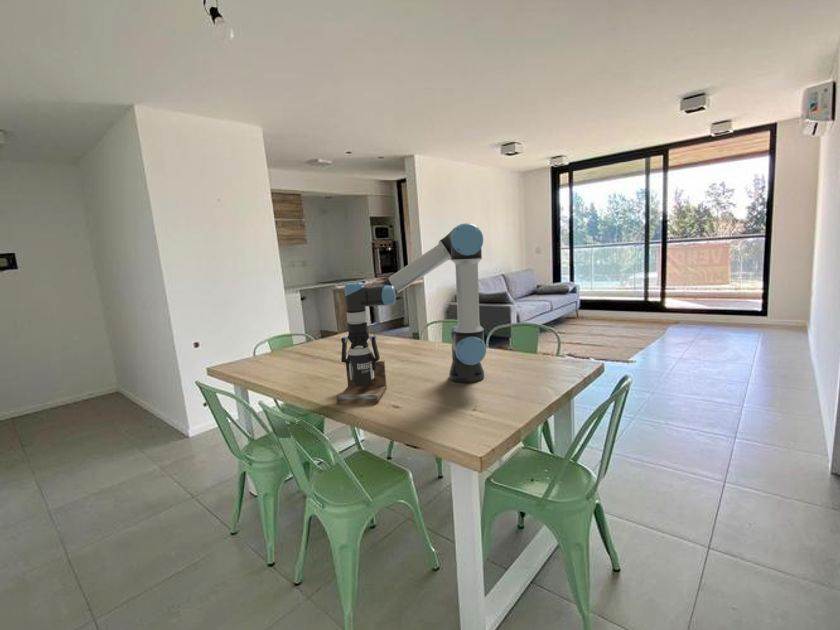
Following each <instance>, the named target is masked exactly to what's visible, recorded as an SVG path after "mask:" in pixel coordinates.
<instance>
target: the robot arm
mask: <svg viewBox="0 0 840 630" xmlns="http://www.w3.org/2000/svg"><path fill="white" fill-rule="evenodd" d="M483 245H484V235H483V231H482V230H481V229H480V228H479V227H478V226H477V225H475V224H473V223H470V222H468V223H467V222H464V223H460V224H458V225H456V226H455V227H454V228H452V229H451V231H450V232H449V233H447V235H445V236H444V237H443V238H441V239H440V240H439V241H438V244H437V245H435V246H433V248H431V249H429V250H428V251H425V253H423V254H422V255H420V256H418V258H416V259H414V260H413V261H411V262H410V263H408V264H407V265H405V266H404V267H402V268H401V269H399V270H398V271H397V272H395V273H394V274H392V275H390V276H389V277H388V278H387V279H385V280H383V281H381V282H379V283H378V284H376V285H375V286H365V285H364V282H358V281H357V282H349V283H345V285H344V302H345V309H346V322H347V330H348V333H347V334H348V335H347V336H343V337H341V340H340V341H341V344H342V345H341V357H340V358H341V363H344V364H345V365H346V364H347V371H350V380H352V379H353V373H352V368H351V363H350V358H349V355H348V354H347V353H348V351H347V348H348V341H349V342H350V343H351V344H350V347H349V348H351V349H354V348H355V346H363V348H367V347H368V345H369V343H368V340H369V341H370V342H371V347H372V352H371V353H369V358H370V360H371V362H370V374H371V379H373V378H374V370H376V361H380V359H381V357H380V353H379V350H378V349H379V348H378V346H377V336H376V335H370V334H369V331H368V322H367V320H368V319H367V311H366V308H367V307H375V306H377V307H379V306H381V307H382V306H390V305H391V306H392V305H395V304H396V300H397V299H396V295H398V294H399V293H400V292H401V291H404V290H405V289H406V288H408V287H409V286H411V285H412V284H414V283H416V282H417V281H418V280H420V279H421V278H423V277H425V276H426V275H427V274H429V273H431V272H432V271H434V270H435V269H437V268H438V267H440V266H441V265H443V264H444V263H446V262H448V261H452V262H453V264H454V265H455V284H456V289H455V290H456V315H457V317H456V318H457V319H456V320H457V325H454V326H452V327H451V328H450V337H451V341H450V342H451V356H452V362H451V365H450V369H449V373H448V376H449V377H448V378H449V380H450V381H452V382H456V383H460V384H461V383H466V384H467V383H469V384H470V383H476V382H480V381H482V380H484V379H485V370H484V368H483V365H482V363H481V362H482V361H483V360H484V358H485V357H486V355H487V345H486V342H485V335H484V334H485V332H484V331H485V330H484V328H483V326H481V323H480V295H479V294H480V292H479V291H480V289H479V263H480V261H481V260H482V259H483V258H482V257H483V256H482V254H483V253H482V247H483ZM347 371H346V372H347Z"/></svg>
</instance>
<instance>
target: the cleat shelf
mask: <svg viewBox="0 0 840 630" xmlns="http://www.w3.org/2000/svg"><path fill="white" fill-rule="evenodd" d="M345 368H346V379H347V387H346V388H345V389H344V390H343V391H342V393H341V394H336V396H335V397H336V405H371V404H373V405H374V404H375V405H378V404H379V403H380V401H381V399H382V398H383V396H384V395H385V393H386V391H387V389H388V386H387V375H386V373H387V372H386V362H385V360H378V361H376V370H374V378H373V379H371V384H369V385H366V386H355V384H354V379H352V380H350V371H347V364H346V363H345Z"/></svg>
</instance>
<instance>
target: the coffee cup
mask: <svg viewBox="0 0 840 630" xmlns="http://www.w3.org/2000/svg"><path fill="white" fill-rule="evenodd" d="M371 352H372V353H373V349H372V348H371V347H370V345H369V344H368V347H367V348H363V346H355V348H354V349H351V348H350V347H349V348H348V351H347V356H348V355H349V358H350V363H351V368H352V373H353V379H354V384H355V386H366V385H369V384H371V374H370V362H371V360H370V358H369V353H371Z"/></svg>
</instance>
